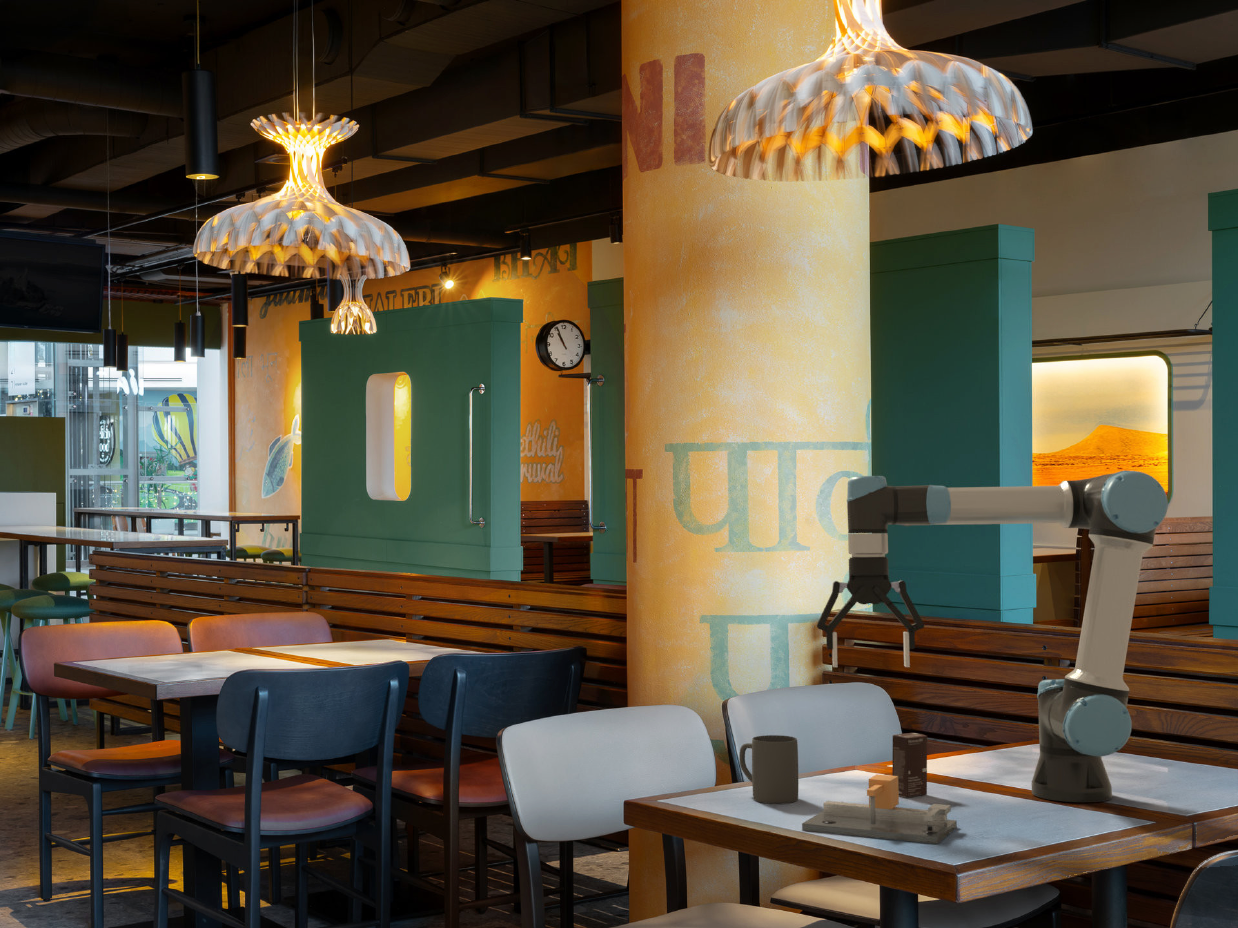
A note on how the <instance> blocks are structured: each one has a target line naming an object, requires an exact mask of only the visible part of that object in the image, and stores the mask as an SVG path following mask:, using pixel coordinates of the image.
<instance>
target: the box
mask: <svg viewBox="0 0 1238 928" xmlns="http://www.w3.org/2000/svg"><path fill="white" fill-rule="evenodd" d="M891 762H892V768H891V769H892V771H891V772H892V773H891V776H898V792H899V797H900V798H910V797H918V796H922V795H923V796H926V795H927V794H928V735H925V734H923V733H916V732H909V733H899V734H892V761H891Z"/></svg>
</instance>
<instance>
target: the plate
mask: <svg viewBox="0 0 1238 928" xmlns="http://www.w3.org/2000/svg"><path fill="white" fill-rule="evenodd" d="M957 825H958V824H957V819H956V820H953V819H947V824H946V825H944V826H940V825H933V831H928V830H927V824H919V823H909V822H899V821H888V820H878V819H876V824H870V819H867V818H857V817H846V816H836V815H825V814H824V810H823V811H820V812H819V813H817V814H815V815H814V816H812V817H811V818H809V819H807V820H805V821H804V822H802V823H801V830H802V831H805V832H806V831H807V832H816V833H825V834H826V833H827V834H834V835H846V836H855V837H864V838H874V839H875V838H876V839H886V840H894V841H902V842H903V841H904V842H915V843H921V844H922V843H925V844H930V845H931V844H934V845H939V843H941V842H942V841H943V840H944V839H945V838H946V837H948V836H949V834H951V833H953V832H954V830H955V829H957Z"/></svg>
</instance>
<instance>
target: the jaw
mask: <svg viewBox="0 0 1238 928" xmlns="http://www.w3.org/2000/svg"><path fill="white" fill-rule="evenodd" d="M866 796H868V805H869V807H870V824H876V819H875V808H882V809H892V808H894V807H898V805H899V803H900V802H899V801H900V799H899V792H898V776H892V775H890V774H889V775H886V774H875V775H873V776H872V777H870V778H868V788H867V789H866Z"/></svg>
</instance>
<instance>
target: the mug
mask: <svg viewBox="0 0 1238 928" xmlns="http://www.w3.org/2000/svg"><path fill="white" fill-rule="evenodd" d="M798 746H799V745H798V738H797V737H794V736H789V735H779V734H777V735H776V734H772V735H771V734H770V735H768V734H767V735H758V736H757V735H756V736H753V737H752V740H751V742H750V743H749V742H748V743H743V744H742V745H741V747H740V750H739V756H738V757H739V758H738V759H739V766H740V769H741V770H742V772H743V774H744V775H745V777H746V778H747V779H748V780H749V782H750V783H752V784H751V785H752V798H753V801H756V802H758V803H763V804H771V805H772V804H773V805H785V804H791V803H792V804H793V803H795V802H798V801H799V800H798V799H799V749H798V748H799V747H798ZM747 749H751V771H750V770H749V769H748V767H747V764H746V751H747Z"/></svg>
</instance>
